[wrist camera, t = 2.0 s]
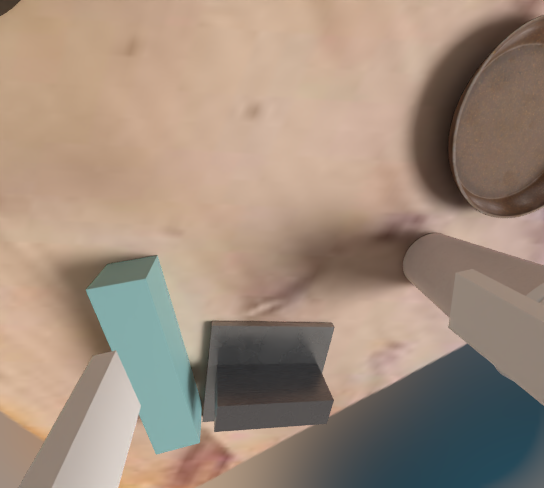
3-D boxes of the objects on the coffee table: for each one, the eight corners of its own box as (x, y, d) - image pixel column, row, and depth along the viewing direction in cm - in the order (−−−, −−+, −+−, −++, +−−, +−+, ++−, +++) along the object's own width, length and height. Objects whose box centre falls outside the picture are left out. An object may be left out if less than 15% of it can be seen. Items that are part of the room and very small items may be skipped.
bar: (164, 411, 34) (156, 454, 29) (108, 262, 26) (85, 289, 21) (201, 401, 34) (199, 442, 30) (158, 254, 27) (145, 278, 22)
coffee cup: (407, 308, 35) (534, 421, 21) (377, 252, 31) (507, 346, 17) (473, 264, 34) (648, 351, 20) (450, 202, 30) (646, 257, 17)
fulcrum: (202, 415, 35) (200, 468, 29) (212, 320, 30) (211, 362, 24) (308, 409, 38) (324, 456, 32) (331, 322, 33) (355, 359, 28)
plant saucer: (577, -20, 25) (623, -40, 22) (588, 156, 32) (624, 158, 29) (406, 92, 26) (429, 87, 23) (454, 240, 33) (477, 249, 30)
